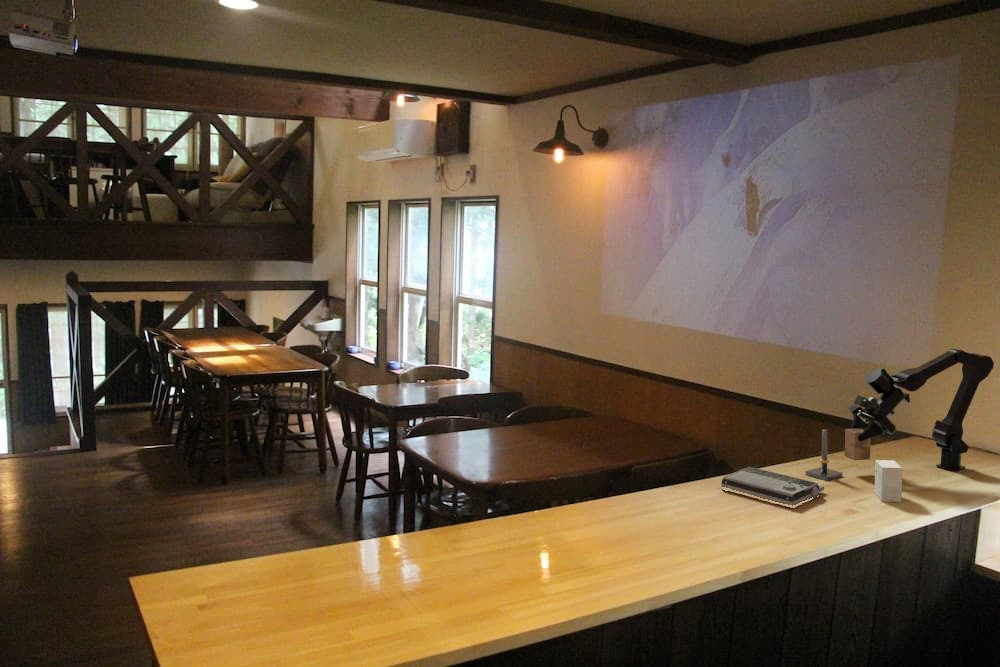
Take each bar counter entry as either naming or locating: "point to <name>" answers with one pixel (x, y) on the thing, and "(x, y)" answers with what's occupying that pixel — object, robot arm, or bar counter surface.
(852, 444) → the walnut block
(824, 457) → the height gauge
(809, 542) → the bar counter surface
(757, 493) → the radio
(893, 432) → the robot arm
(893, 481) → the small box
